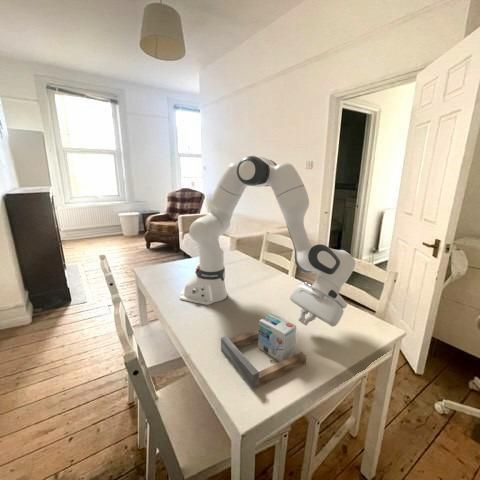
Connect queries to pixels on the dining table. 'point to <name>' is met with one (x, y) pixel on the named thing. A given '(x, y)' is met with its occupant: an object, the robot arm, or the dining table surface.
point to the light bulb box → (277, 337)
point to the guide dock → (247, 369)
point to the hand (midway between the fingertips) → (302, 323)
